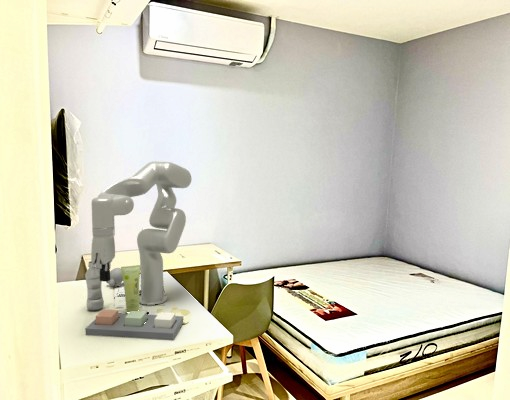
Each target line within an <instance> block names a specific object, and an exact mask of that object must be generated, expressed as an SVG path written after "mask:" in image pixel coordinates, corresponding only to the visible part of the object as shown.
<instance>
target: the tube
mask: <svg viewBox="0 0 510 400" xmlns="http://www.w3.org/2000/svg"><path fill="white" fill-rule="evenodd" d="M120 268H121V270H122V275H123V281H122V282H123V288H124V289H123V290H124V298H125V311H126V313H127V312H130V311H138V310H139V311H140V303H139V296H140V280H141V273H140V268H141V265H140V264H138V265H129V266H128V265H127V266H121V267H120Z"/></svg>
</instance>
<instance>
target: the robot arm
mask: <svg viewBox="0 0 510 400" xmlns="http://www.w3.org/2000/svg"><path fill="white" fill-rule="evenodd" d="M191 183H192V174H191V172H190V171H189V170H188V169H187V168H184V167H183V166H181V165H178V164H176V163H174V162H171V161H150V162H148V163H146V164H145V165H144V166H143V167H142V168H141V169H139V170H138V171H137V172H136V173H135V174H133V175H132V176H130V177H128V178H125V179H123V180H121V181H118V182H115V183H113V184H111V185H109V186H107V187H106V188H105V189H104V190H103V191H101V192H100V193H99V195H97V197H94V198H92V199H91V227H92V231H91V232H92V239H91V241H92V242H91V250H90V251H91V260H90V261H91V262H92V264H96V263H97V264H96V269H99V271H100V281H102V282H106V283H107V282H108V281H109V280H110V272H111V263H112V262H113V260H114V259H115V257H116V243H115V235H116V231H115V228H116V226H115V216H126V215H129V214H130V213H131V212H132V211H133V210H134V206H135V203H134V200H133V199H132V198H135V197H139V196H143V195H145V194H147V193H148V192H149V191H150V190H151V189H152V188H153V187H154V186H155V185H156V189H157V198H156V201H155V204H154V206H153V207H152V208H153V209H152V211H151V213H150V216H149V221H148V222H149V224H150V226H151V227H153V228H144V229H142V230H141V231H139V232H138V234H137V236H136V242H137V243H136V244H137V248H138V252H139V265H141V268H140V294H139V304H140V303H141V304H140V305H142V304H147V305H146V306H156V305H155V304H158V305H162V304H164V303H165V302H166V301H167V300H168V295H167V294H166V293H164V292H165V291H164V259H163V256H162V254H172V253H174V252H175V251H176V250H177V248H178V246H179V243H180V240H181V238H182V235H183V233H184V229H185V227H186V221H187V219H186V218H187V217H186V214H185V211H184V210H182V209H180V208H175V207H176V205H177V197H176V194H175V192H174V190H173V189H186V188H188V187H190V185H191ZM161 253H162V254H161Z"/></svg>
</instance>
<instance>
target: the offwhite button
mask: <svg viewBox="0 0 510 400" xmlns="http://www.w3.org/2000/svg"><path fill="white" fill-rule="evenodd" d="M156 315H157V316H156V318H155V319H154V322H155V328H170V329H171V328H172V327H173V325H174V323H175V316H176V313H175V312H162V311H159V313H158V314H156Z"/></svg>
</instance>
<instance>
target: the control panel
mask: <svg viewBox="0 0 510 400" xmlns="http://www.w3.org/2000/svg"><path fill="white" fill-rule="evenodd" d="M127 315H128V313H127V312H126V313H125V312H123V313H122V312H118V316H119V319H118V320H117V321H116V322H115V323H114V324H113V325H96V318H95V319H94V320H93V321H92V322H90V323H89V324H88V325H87V326H86V327H85V329H84V332H85V333H84V334H85V336H97V337H111V338H112V337H113V338H131V339H133V338H134V339H148V340H149V339H150V340H164V341H165V340H166V341H167V340H169V341H173V340H175V338H176V336H177V334H178V332H179V331H180V329H181V328H182V326H183V324H184V323H183V320H184V316H182V315H175V323H174V325H173V327H172V328H171V329H170V328H155V322H154V319H155V318H156V316H157V315H158V314H147V321H146V323H145V324H144V325H143V326H142V327H133V326H125V317H126V316H127Z"/></svg>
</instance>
